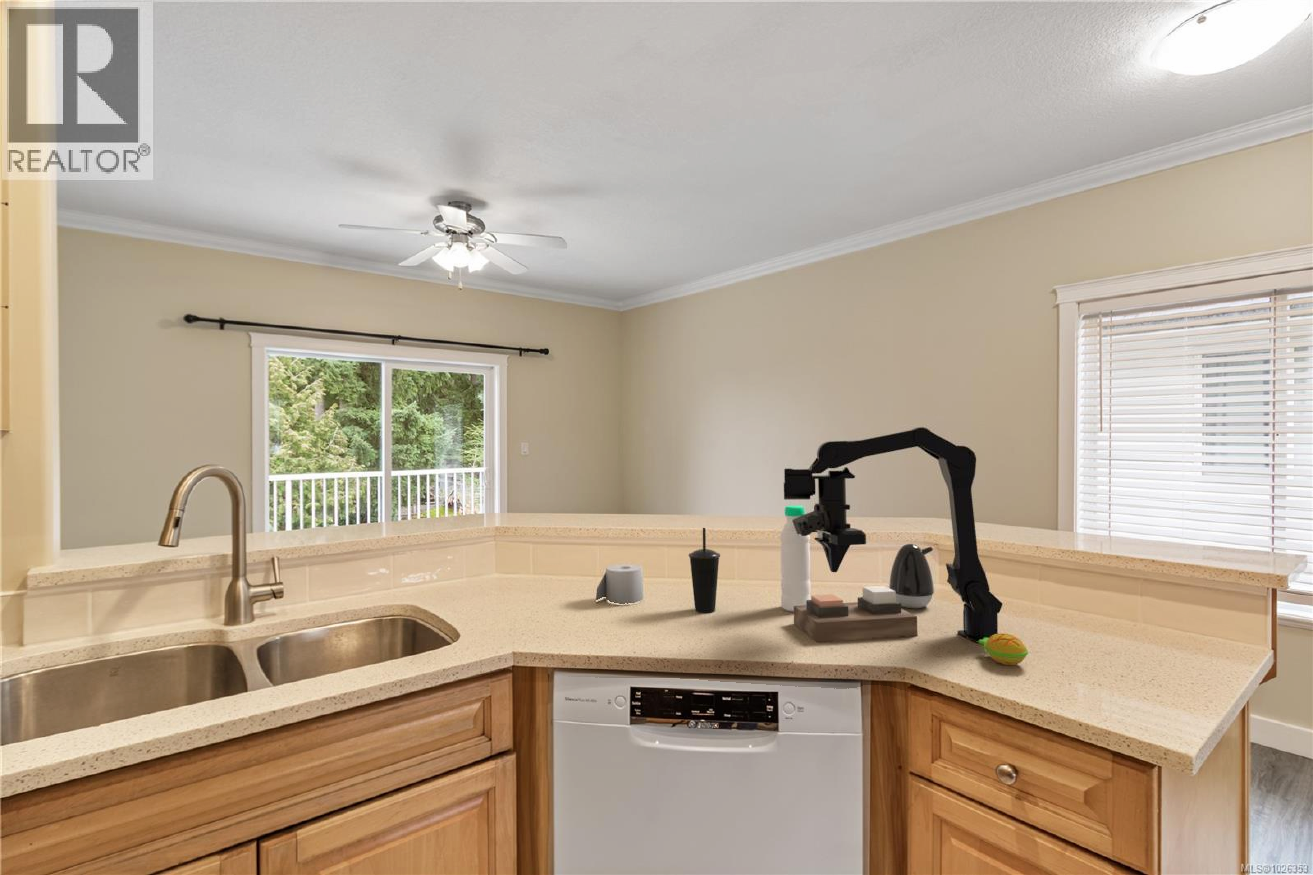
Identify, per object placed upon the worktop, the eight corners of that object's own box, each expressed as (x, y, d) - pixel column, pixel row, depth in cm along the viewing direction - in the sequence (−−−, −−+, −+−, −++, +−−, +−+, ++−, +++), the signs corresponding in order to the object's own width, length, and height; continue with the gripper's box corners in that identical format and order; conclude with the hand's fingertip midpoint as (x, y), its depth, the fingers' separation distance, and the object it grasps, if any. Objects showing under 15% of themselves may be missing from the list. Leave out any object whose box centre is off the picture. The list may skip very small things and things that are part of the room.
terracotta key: (843, 614, 132) (842, 600, 132) (820, 615, 132) (820, 601, 132) (833, 608, 137) (832, 594, 137) (811, 609, 136) (811, 595, 136)
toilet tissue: (587, 603, 159) (587, 570, 159) (627, 594, 168) (627, 562, 168) (609, 610, 153) (609, 575, 153) (650, 600, 162) (649, 567, 162)
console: (917, 635, 131) (916, 606, 131) (817, 642, 127) (817, 612, 127) (885, 618, 143) (884, 591, 143) (793, 623, 140) (793, 596, 140)
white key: (895, 605, 134) (895, 591, 134) (873, 606, 133) (873, 592, 133) (883, 599, 139) (883, 585, 139) (862, 600, 138) (862, 586, 138)
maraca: (995, 671, 111) (995, 641, 111) (972, 651, 121) (971, 624, 121) (1036, 672, 110) (1036, 641, 110) (1009, 652, 120) (1008, 624, 120)
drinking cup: (720, 606, 155) (719, 525, 155) (720, 615, 148) (719, 530, 148) (690, 605, 156) (689, 525, 156) (688, 614, 148) (687, 530, 148)
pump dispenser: (942, 611, 148) (941, 547, 148) (898, 611, 149) (897, 547, 149) (924, 599, 159) (923, 540, 159) (883, 600, 159) (882, 540, 159)
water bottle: (811, 613, 148) (810, 507, 148) (781, 612, 149) (779, 507, 149) (810, 605, 155) (809, 504, 155) (781, 604, 156) (780, 504, 156)
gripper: (781, 497, 142) (782, 565, 142) (814, 505, 124) (816, 584, 124) (827, 495, 144) (828, 562, 144) (866, 503, 126) (868, 580, 126)
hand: (833, 571), depth 134 cm, fingers closed
